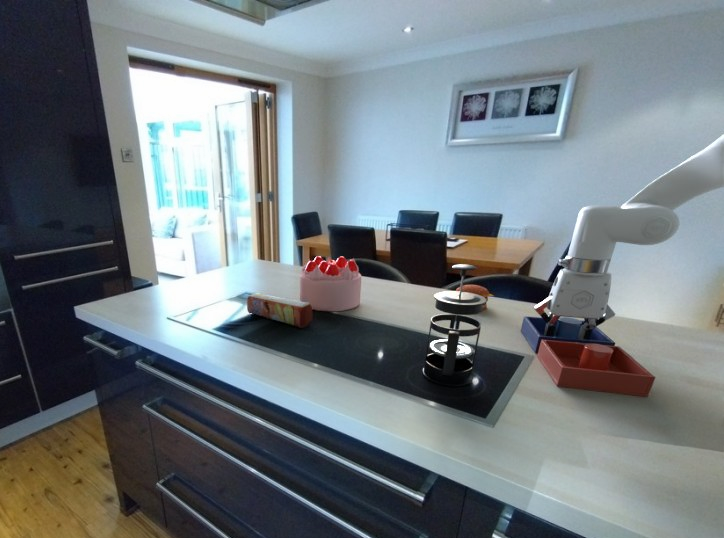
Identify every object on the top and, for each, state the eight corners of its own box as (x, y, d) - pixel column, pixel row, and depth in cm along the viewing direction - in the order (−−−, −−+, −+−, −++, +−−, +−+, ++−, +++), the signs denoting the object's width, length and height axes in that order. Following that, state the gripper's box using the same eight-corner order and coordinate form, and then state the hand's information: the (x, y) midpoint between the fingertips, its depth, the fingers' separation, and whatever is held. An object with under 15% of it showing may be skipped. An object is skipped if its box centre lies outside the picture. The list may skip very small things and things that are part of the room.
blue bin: (585, 336, 97) (589, 320, 96) (609, 360, 85) (615, 343, 83) (520, 330, 101) (523, 316, 100) (534, 352, 89) (539, 336, 88)
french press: (425, 361, 86) (439, 258, 77) (471, 369, 83) (492, 261, 74) (419, 386, 77) (434, 270, 68) (471, 395, 73) (495, 274, 64)
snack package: (245, 315, 119) (244, 293, 116) (260, 309, 123) (259, 288, 121) (299, 330, 105) (299, 307, 103) (314, 324, 110) (314, 301, 107)
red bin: (613, 363, 83) (619, 346, 82) (647, 397, 71) (655, 377, 69) (537, 356, 88) (541, 339, 86) (556, 386, 75) (562, 367, 74)
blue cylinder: (577, 349, 89) (585, 324, 87) (555, 347, 90) (562, 322, 88) (565, 335, 96) (571, 312, 94) (544, 333, 98) (550, 311, 96)
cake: (370, 300, 129) (374, 257, 123) (337, 316, 115) (339, 269, 110) (322, 291, 141) (322, 251, 135) (287, 304, 127) (286, 261, 122)
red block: (607, 381, 75) (617, 353, 73) (580, 378, 76) (589, 351, 74) (590, 362, 83) (598, 336, 80) (566, 360, 84) (573, 334, 82)
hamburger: (492, 306, 120) (497, 286, 117) (475, 313, 115) (479, 291, 113) (464, 299, 127) (467, 280, 125) (446, 305, 122) (449, 285, 120)
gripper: (545, 267, 84) (526, 343, 91) (644, 271, 78) (616, 352, 85) (536, 260, 90) (519, 332, 97) (626, 263, 85) (601, 339, 92)
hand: (564, 340), depth 91 cm, fingers open, 5 cm apart
